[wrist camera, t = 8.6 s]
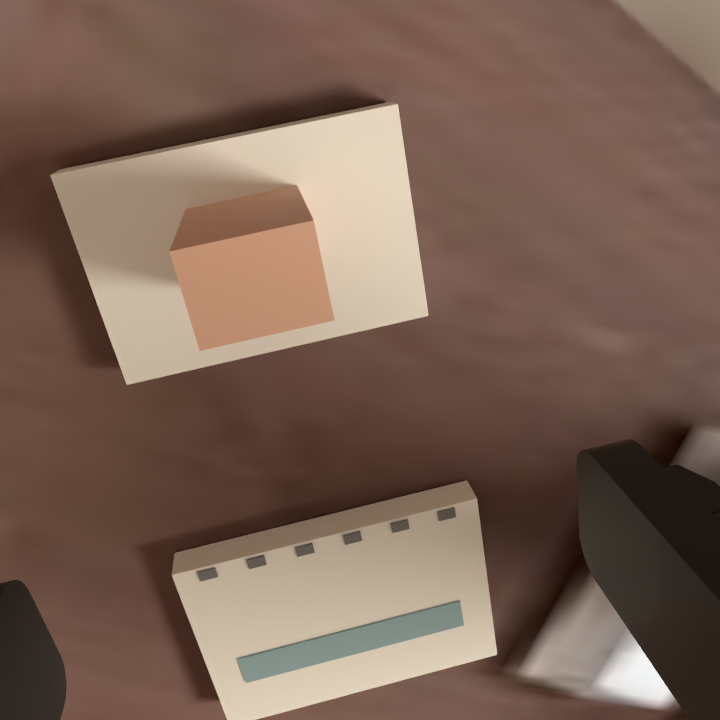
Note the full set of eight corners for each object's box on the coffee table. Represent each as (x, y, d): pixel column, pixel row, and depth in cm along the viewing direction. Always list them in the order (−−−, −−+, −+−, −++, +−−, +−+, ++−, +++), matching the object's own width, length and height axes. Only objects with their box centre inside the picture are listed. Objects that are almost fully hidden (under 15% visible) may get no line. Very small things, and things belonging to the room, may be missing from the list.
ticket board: (467, 480, 32) (477, 499, 31) (487, 632, 36) (497, 656, 35) (174, 552, 31) (171, 576, 30) (230, 700, 35) (229, 728, 34)
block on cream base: (389, 101, 25) (444, 115, 18) (420, 304, 28) (476, 379, 21) (60, 169, 24) (-11, 209, 17) (132, 370, 27) (96, 469, 21)
